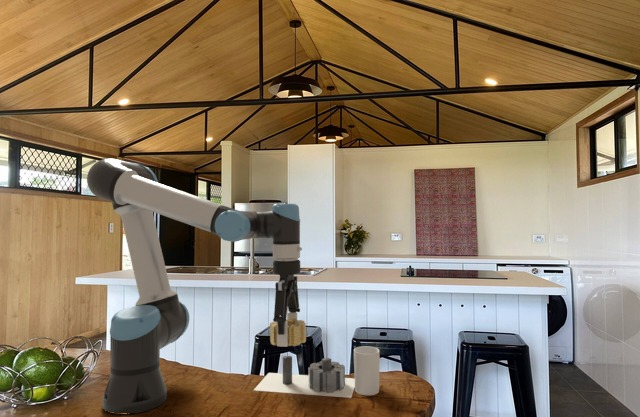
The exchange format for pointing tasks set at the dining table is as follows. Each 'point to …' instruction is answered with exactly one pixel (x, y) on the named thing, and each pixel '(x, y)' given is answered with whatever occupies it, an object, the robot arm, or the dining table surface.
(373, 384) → the mug
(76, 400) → the dining table surface
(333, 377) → the gear
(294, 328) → the gear
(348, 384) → the board
